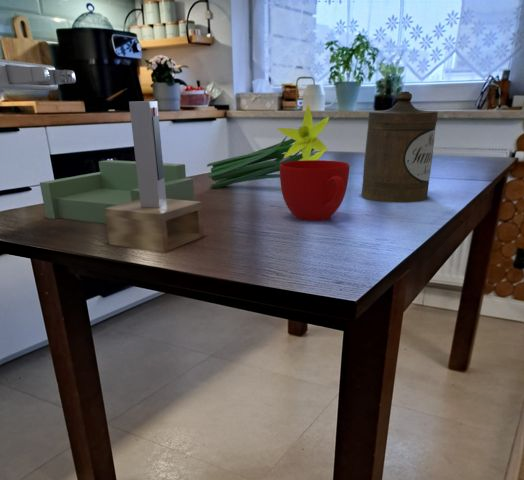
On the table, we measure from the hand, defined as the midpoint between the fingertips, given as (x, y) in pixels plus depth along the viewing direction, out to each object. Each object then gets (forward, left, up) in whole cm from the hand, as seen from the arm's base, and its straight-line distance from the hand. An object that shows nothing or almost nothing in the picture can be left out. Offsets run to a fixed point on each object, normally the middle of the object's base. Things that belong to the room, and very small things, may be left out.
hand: (60, 75), depth 76 cm
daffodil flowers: (+5, +56, -25) cm, 62 cm away
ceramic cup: (+29, +30, -25) cm, 49 cm away
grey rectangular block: (+11, +4, -19) cm, 22 cm away
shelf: (+11, +4, -25) cm, 27 cm away
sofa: (-8, +17, -25) cm, 31 cm away
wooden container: (+36, +60, -25) cm, 75 cm away
